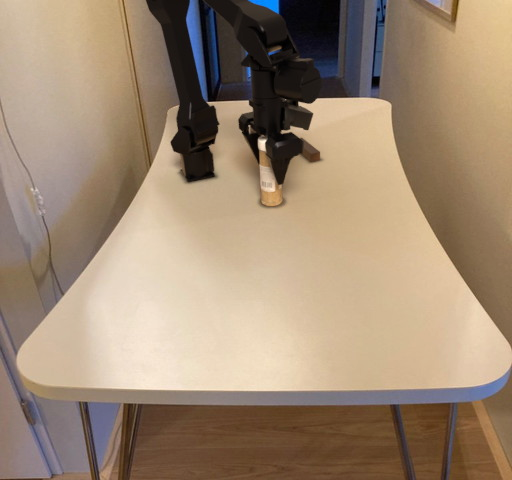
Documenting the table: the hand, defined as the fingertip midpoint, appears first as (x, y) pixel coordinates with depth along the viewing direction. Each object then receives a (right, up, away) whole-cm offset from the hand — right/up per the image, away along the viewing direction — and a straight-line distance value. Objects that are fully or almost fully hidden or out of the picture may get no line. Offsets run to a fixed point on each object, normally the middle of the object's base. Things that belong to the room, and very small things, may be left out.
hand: (271, 175), depth 110 cm
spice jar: (0, -4, +4) cm, 6 cm away
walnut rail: (+9, +12, +21) cm, 26 cm away
